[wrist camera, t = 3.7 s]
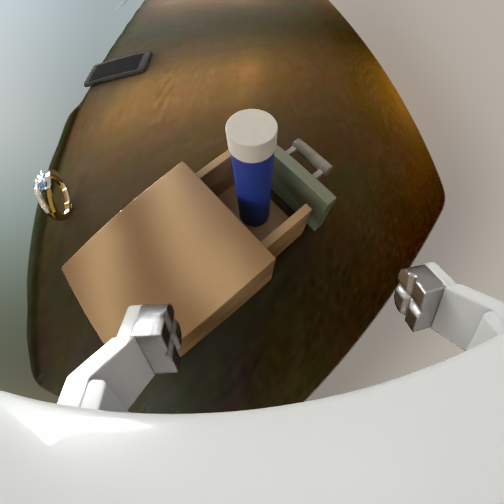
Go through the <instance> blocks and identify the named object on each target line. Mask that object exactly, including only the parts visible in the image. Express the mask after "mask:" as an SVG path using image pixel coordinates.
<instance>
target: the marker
mask: <svg viewBox="0 0 504 504" xmlns="http://www.w3.org/2000/svg"><path fill="white" fill-rule="evenodd" d="M225 129H226V136H227V143H228V149H229V151H230V153H231V160H232V167H233V174H234V180H235V187H236V194H237V201H238V207H239V214H240V218H241V220H242V221H243V222H244V223H245V224H247V225H249V226H253V227H254V226H260V225H262V224H264V223H265V222H266V221H267V219H268V217H269V211H270V200H271V188H272V176H273V163H274V152H275V149H276V144H277V132H278V125H277V122H276V120H275V119H274V117H273V116H272V115H270V114H269V113H267V112H265V111H262V110H258V109H246V110H242V111H239V112H237V113H235V114H234V115H232V116H231V117H230V118H229V120H228V121H227V123H226V128H225Z"/></svg>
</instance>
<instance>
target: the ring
mask: <svg viewBox="0 0 504 504" xmlns="http://www.w3.org/2000/svg"><path fill="white" fill-rule="evenodd" d="M40 174H41V175H42V176H41V177H40V176H39V175H38V176H37V177H38V178H39V179H40V180H38V181H37V179H36V180H35V182H36V184H35V185H34V186H33V191H34V194H35V196H36V198H37V200H38V202H39V204H40V205H41V207H42V208H43V210H44V211H45V212H46V213H47V214H48V215H49V216H50V217H51V218H52V219H53V220H55V221H58V222H60V221H64V220H66V219H68V218H69V217H70V214H71V210H72V208H73V204H72V200H71V195H70V191H69V188H68V186H67V184H66V182H65V180H64V178H63V177H62V176H61V175H60V174H59V173H58V172H56V171H55V170H49V171H48V172H47V173H46V174H44V173H43V172H42V171H41V172H40ZM51 180H53V181H55V182H56V183H57V184H58V185H59V186H60V187H61V189H62V191H63V193H64V196H65V201H66V203H65V213H64V215H62V214H61V213H60V212H59V211H58V209H57V207H56V205H55V202H54V199H53V195H52V192H51ZM45 190H46V191H47V194H48V200H49V204H50V207H51V208H50V207H49V206H48V205H47V203H46V202H45V200H44V199H43V197H42V195H41V193H42V194H43V193H44V192H45ZM40 192H41V193H40Z"/></svg>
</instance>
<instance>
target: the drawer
mask: <svg viewBox="0 0 504 504" xmlns="http://www.w3.org/2000/svg"><path fill="white" fill-rule="evenodd" d="M296 151H297V152H298V153H299V154H300V155H301V156H302V157H304V158H305V159H306V160H307V161H308V162H309V163H311V164H312V165H313V166H314V167H315V168H316V169H317V170H318V171H316V172H315V173H314V174H313V175H312V174H310V173H309V172H308V171H307V170H306V169H305V168H304V167H303V166H301V165H300V164H299V163H298V162H297V161H296V160H295V159H293V158H292V157H291V155H292V154H294V153H295V152H296ZM332 169H333V166H332V165H331V164H329V163H328V162H327V161H326V160H325V159H324V158H323V157H321V156H320V155H319V154H318V153H317V152H316V151H314V150H313V149H312V148H311V147H310V146H308V145H307V144H306V143H305V142H304V141H302V140H301V139H300V138H298V139H297V140H295V141H294V143H293V144H292V147H291V148H289V149H288V150H287V151H284V150H283V149H282V148H281V147H279V146H278V145H277V144H276V149H275V152H274V163H273V176H272V188H271V189H272V190H273V191H274V192H275V193H276V194H277V195H278V196H279V197H280V198H281V199H282V200H283V201H284V202H285V203H286V204H287V205H288V206H289V207H290V208H291V209H292V210H293V211H294V212H295V213H294V214H293V215H292V216H291V217H289V216H288V215H287V214H286V213H285V212H284V211H283V210H282V209H280V208H279V207H278V206H277V205H276V204H275V203H274V202H273V201H272V200H270V211H269V217H268V219H267V221H266V222H265V223H264V224H262V225H260V226H254V227H253V226H249V225H247V224H245V223H244V222H243V221H242V220H241V218H240V214H239V207H238V201H237V194H236V187H235V180H234V174H233V167H232V160H231V153H230V151H229V150H227V151H226V152H225V153H223V154H222V155H220V156H219V157H217V158H216V159H215V160H213V161H212V162H211V163H209V164H208V165H206V166H205V167H204V168H202V169H201V170H200V171H198V172H197V173H196V175H197V176H198V177H199V178H200V179H201V180H202V181H203V182H204V183H205V184H206V185H207V187H208V188H209V189H210V190H211V191H212V192H213V193H214V194H215V195H216V196H217V197H218V198H219V199H220V200H221V201H222V202H223V203H224V204H225V205H226V206H227V207H228V208H229V209H230V210H231V211H232V213H233V214H234V215H235V216H236V217H237V218H238V219H239V220H240V221H241V222H242V223H243V224H244V225H245V226H246V227H247V228H248V229H249V230H250V231H251V232H252V233H253V235H254V236H255V237H256V238H257V239H258V240H259V241H260V242H261V243H262V244H263V245H264V246H265V247H266V248H267V249H268V250H269V251H270V252H271V254H272V255H273V256H274V257H276V256H278V255H279V254H280V253H281V252H282V251H283V250H284V249H286V248H287V247H288V246H289V245H290V244H291V243H292V242H293V241H295V240H296V239H297V238H298V237H299V236H300V235H301V234H302V233H303V230H304V228H305V226H306V223H307V224H308V225H309V226H310V227H311V228H312V229H313V230H314V231H316V230H317V229H318V228H319V227H320V226H321V225H322V223H323V222H324V220H325V218H326V216H327V214H328V212H329V211H330V209H331V207H332V205H333V203H334V201H335V199H336V197H335V196H334V195H333V194H332V193H331V192H330V191H329V190H328V189H327V188H326V187H325V186H324V185H323V184H321V183H320V182H319V181H318V180H317V179H318V178H320V177H321V176H322V175H324V176H326V175H328V174H329V173H330V172H331V170H332Z"/></svg>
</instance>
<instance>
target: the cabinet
mask: <svg viewBox="0 0 504 504" xmlns="http://www.w3.org/2000/svg"><path fill="white" fill-rule="evenodd" d="M275 261H276V258H275V257H274V256H273V255H272V254H271V252H270V251H269V250H268V249H267V248H266V247H265V246H264V245H263V244H262V243H261V242H260V241H259V240H258V239H257V238H256V237H255V236H254V235H253V233H252V232H251V231H250V230H249V229H248V228H247V227H246V226H245V225H244V224H243V223H242V222H241V221H240V220H239V219H238V218H237V217H236V216H235V215H234V214H233V213H232V211H231V210H230V209H229V208H228V207H227V206H226V205H225V204H224V203H223V202H222V201H221V200H220V199H219V198H218V197H217V196H216V195H215V194H214V193H213V192H212V191H211V190H210V189H209V188H208V187H207V185H206V184H205V183H204V182H203V181H202V180H201V179H200V178H199V177H198V176H197V175H196V174H195V173H194V172H193V171H192V170H191V169H190V168H189V167H188V166H187V165H186V164H185V163H184V162H181V163H180V164H178V165H177V166H176V167H174V168H173V169H172V170H171V171H169V172H168V173H167V174H165V175H164V176H163V177H161V178H160V179H159V180H158V181H156V182H155V183H154V184H153V185H151V186H150V187H149V188H148V189H146V190H145V191H144V192H143V193H142V194H140V195H139V196H138V197H137V198H135V199H134V200H133V201H132V202H131V203H130V204H128V205H127V206H126V207H125V208H124V209H123V210H121V211H120V212H119V213H118V214H117V215H116V216H115V217H114V218H112V219H111V220H110V221H109V222H108V223H107V224H106V225H105V226H104V227H102V228H101V229H100V230H99V231H98V232H97V233H96V234H95V235H94V236H93V237H92V238H91V239H90V240H89V241H88V242H87V243H86V244H85V245H83V246H82V247H81V248H80V249H79V250H78V251H77V252H76V253H75V254H74V255H73V256H72V257H71V258H70V259H69V260H68V262H67V263H66V264H65V265H64V266H63V267H62V270H63V272H64V274H65V276H66V278H67V280H68V282H69V284H70V286H71V288H72V290H73V292H74V294H75V296H76V298H77V299H78V301H79V303H80V305H81V307H82V308H83V310H84V312H85V314H86V315H87V317H88V319H89V320H90V322H91V324H92V325H93V327H94V329H95V330H96V332H97V334H98V335H99V337H100V338H101V340H102V341H103V343H104V345H105V344H106V343H107V342H108V341H109V340H111V339H112V338H116V337H117V335H118V332H119V329H120V327H121V324H122V321H123V319H124V316H125V314H126V311H127V309H128V307H129V306H132V305H144V304H159V303H171V304H172V306H173V308H174V311H175V314H174V319H175V320H177V321H178V322H179V325H180V329H181V333H182V345H181V348H180V349H179V350H178V351H177V352H178V354H179V356H180V357H181V356H183V355H184V354H185V353H186V352H187V351H189V350H190V349H191V348H192V347H193V346H195V345H196V344H197V343H198V342H199V341H201V340H202V339H203V338H204V337H205V336H207V335H208V334H209V333H210V332H211V331H212V330H214V329H215V328H216V327H217V326H218V325H220V324H221V323H222V322H223V321H224V320H225V319H227V318H228V317H229V316H230V315H231V314H232V313H234V312H235V311H236V310H237V309H238V308H239V307H240V306H242V305H243V304H244V303H245V302H246V301H247V300H248V299H250V298H251V297H252V296H253V295H254V294H255V293H256V292H258V291H259V290H260V289H261V288H262V287H263V286H264V285H266V284H267V283H268V282H269V281H270V280H271V278H272V273H273V269H274V265H275Z"/></svg>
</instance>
